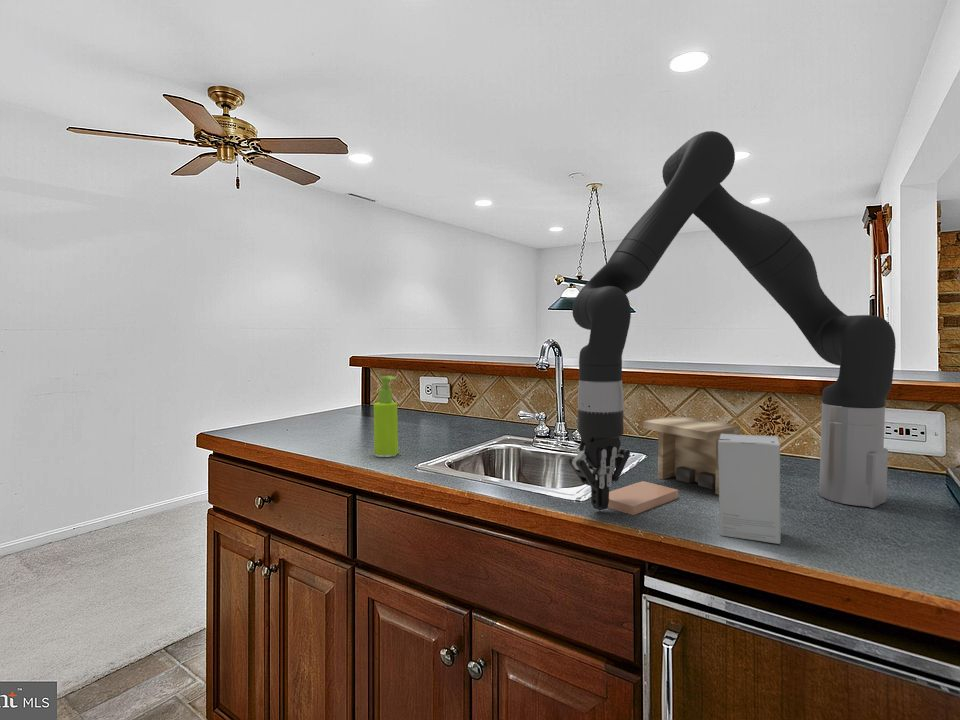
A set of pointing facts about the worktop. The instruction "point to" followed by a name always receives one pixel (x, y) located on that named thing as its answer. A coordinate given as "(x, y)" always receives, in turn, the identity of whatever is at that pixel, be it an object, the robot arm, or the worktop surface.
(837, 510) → the worktop surface
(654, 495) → the tile
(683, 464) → the shelf
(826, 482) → the robot arm
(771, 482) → the skincare box
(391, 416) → the soap dispenser
